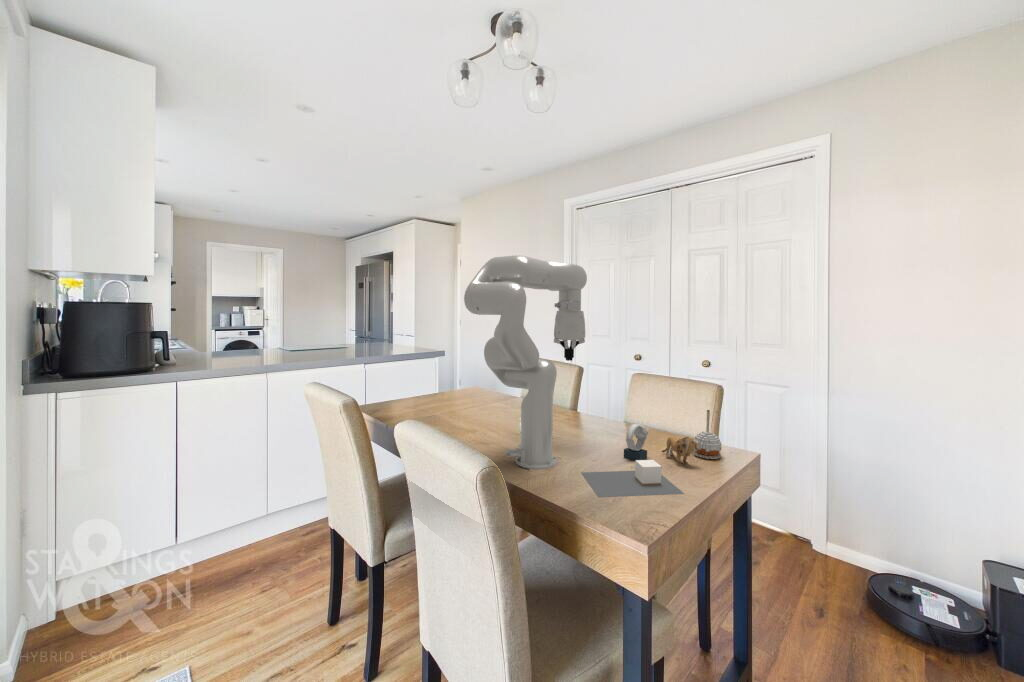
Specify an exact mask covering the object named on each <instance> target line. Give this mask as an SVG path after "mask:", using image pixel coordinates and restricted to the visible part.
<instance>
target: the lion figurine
mask: <svg viewBox="0 0 1024 682" xmlns="http://www.w3.org/2000/svg"><path fill="white" fill-rule="evenodd" d="M694 439H695V437H694V436H686V437H683V438H680V439H677V437H676V436H669V437H668V438H667V439H666V448H665V449H663V450H661V452H662V453H665V454H666V455H665V458H666V459H670V455H671V456H674V455H675V454H674V452H675V453H676V465H677V466H678V467H679V466H682V463H683V465H688V464H689V462H688V461H687V458H688V457H690V455H692V454H693V453H694V451H695V450H696V451H697V448H699V444H697V443H696V442H695V441H694ZM681 458H682V461H681Z"/></svg>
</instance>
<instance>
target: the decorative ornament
mask: <svg viewBox="0 0 1024 682" xmlns="http://www.w3.org/2000/svg"><path fill="white" fill-rule="evenodd" d="M710 412H711V411H710V409H706V426H705V427H706V429H705V431H700V432H698V433H696V435H694V441H695V442H696V443H697V444H699V448H697V451H696V450H695V451H694V453H692V454H693V455H695V456H696V457H699V458H701V459H706V460H717V459H720V458H721V457H722V456H721V453H720V451H721V450H722V442H721V439H720V437H718V435H717V434H715V433H713V432H711V431H710V415H711V414H710Z"/></svg>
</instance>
